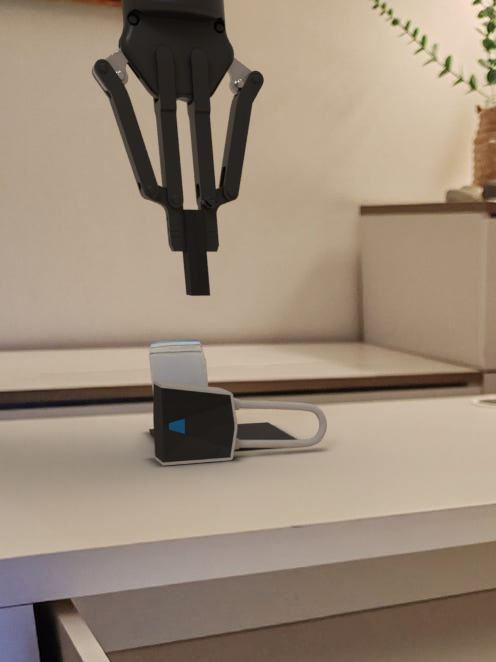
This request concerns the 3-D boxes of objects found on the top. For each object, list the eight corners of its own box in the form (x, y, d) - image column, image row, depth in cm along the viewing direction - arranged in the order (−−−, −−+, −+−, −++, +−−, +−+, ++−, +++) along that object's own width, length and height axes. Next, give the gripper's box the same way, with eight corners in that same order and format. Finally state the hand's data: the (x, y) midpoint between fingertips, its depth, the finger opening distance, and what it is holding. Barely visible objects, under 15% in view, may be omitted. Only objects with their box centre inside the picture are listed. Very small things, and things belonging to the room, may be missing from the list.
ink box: (149, 340, 100) (146, 350, 89) (202, 339, 101) (205, 349, 90) (159, 429, 103) (157, 449, 92) (210, 426, 104) (214, 446, 93)
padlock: (154, 458, 90) (318, 458, 97) (163, 466, 87) (333, 466, 93) (152, 379, 88) (320, 385, 95) (162, 385, 84) (335, 390, 91)
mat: (149, 432, 103) (149, 428, 103) (268, 425, 108) (268, 422, 107) (170, 454, 92) (169, 450, 92) (301, 446, 96) (301, 441, 96)
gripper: (245, -17, 83) (265, 293, 91) (73, -36, 78) (110, 294, 86) (267, -40, 76) (287, 296, 84) (81, -62, 71) (120, 297, 79)
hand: (198, 294), depth 85 cm, fingers closed
